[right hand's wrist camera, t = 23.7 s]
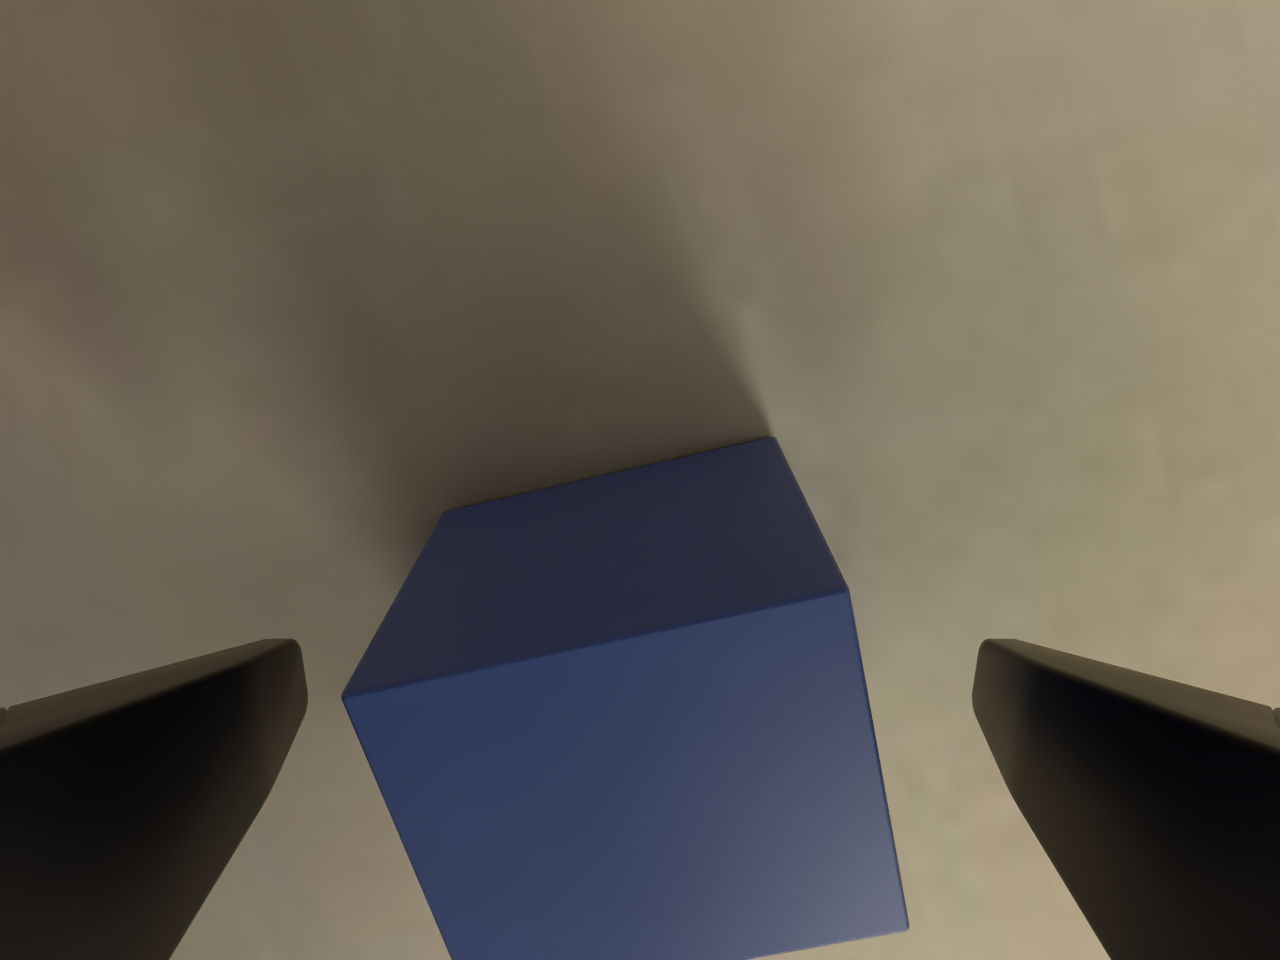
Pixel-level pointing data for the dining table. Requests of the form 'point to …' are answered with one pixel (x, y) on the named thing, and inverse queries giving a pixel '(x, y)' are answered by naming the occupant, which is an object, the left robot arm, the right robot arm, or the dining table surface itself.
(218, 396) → the dining table surface
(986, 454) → the dining table surface
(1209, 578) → the dining table surface
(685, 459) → the brick
